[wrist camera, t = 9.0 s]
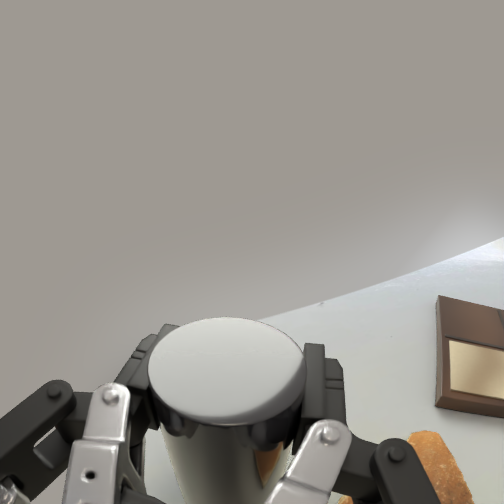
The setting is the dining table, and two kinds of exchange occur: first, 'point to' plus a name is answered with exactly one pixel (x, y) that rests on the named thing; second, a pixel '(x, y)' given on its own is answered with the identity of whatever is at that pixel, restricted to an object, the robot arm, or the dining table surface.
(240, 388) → the dark grey cylinder
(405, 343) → the dining table surface
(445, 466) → the pottery shard
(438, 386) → the board
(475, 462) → the dining table surface
